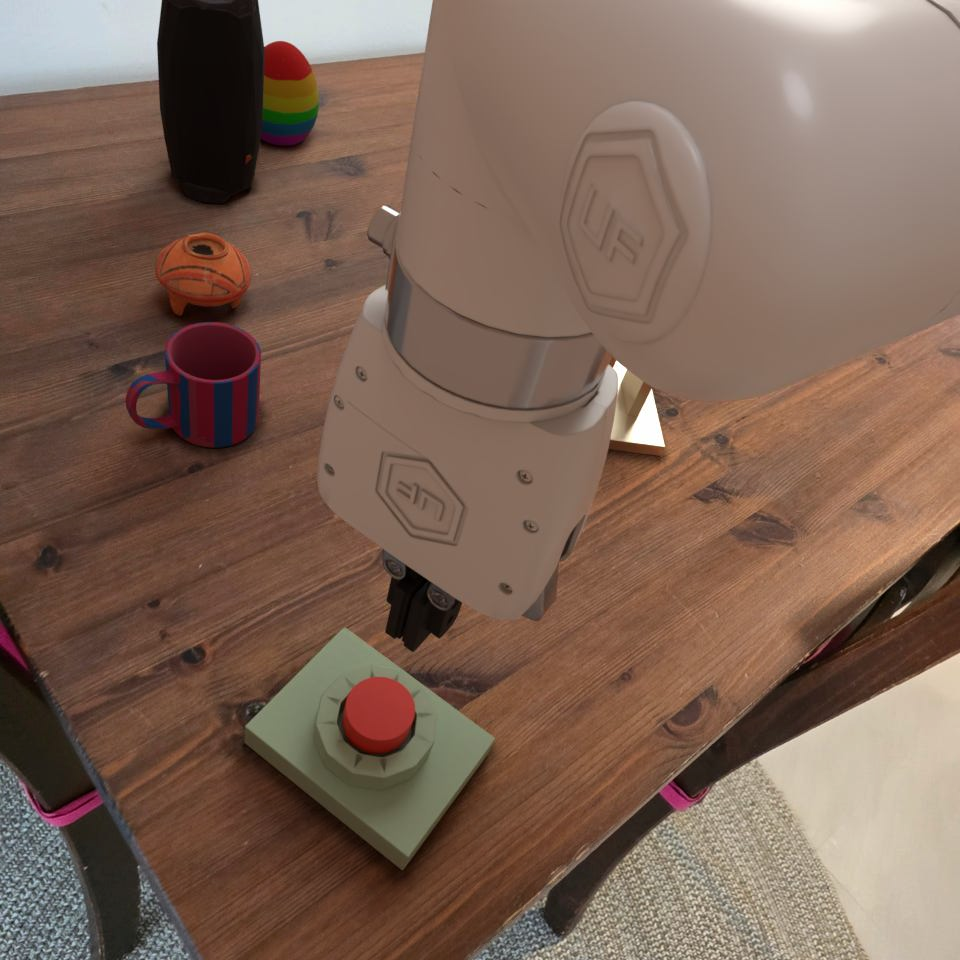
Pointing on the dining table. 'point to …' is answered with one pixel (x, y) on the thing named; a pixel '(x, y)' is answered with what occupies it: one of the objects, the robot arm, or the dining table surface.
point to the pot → (202, 272)
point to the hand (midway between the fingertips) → (418, 622)
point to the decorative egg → (288, 95)
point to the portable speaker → (211, 94)
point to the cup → (206, 385)
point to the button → (378, 715)
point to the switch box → (357, 774)
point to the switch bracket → (635, 416)
